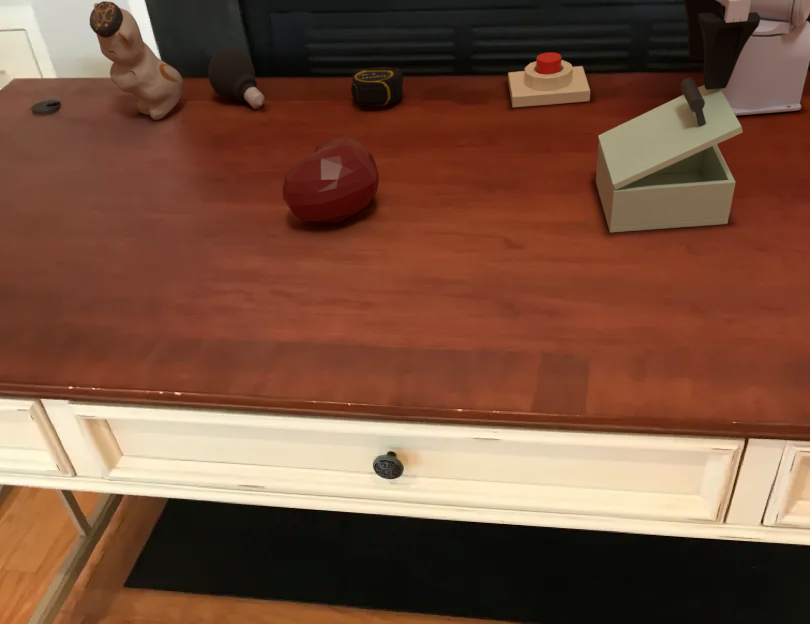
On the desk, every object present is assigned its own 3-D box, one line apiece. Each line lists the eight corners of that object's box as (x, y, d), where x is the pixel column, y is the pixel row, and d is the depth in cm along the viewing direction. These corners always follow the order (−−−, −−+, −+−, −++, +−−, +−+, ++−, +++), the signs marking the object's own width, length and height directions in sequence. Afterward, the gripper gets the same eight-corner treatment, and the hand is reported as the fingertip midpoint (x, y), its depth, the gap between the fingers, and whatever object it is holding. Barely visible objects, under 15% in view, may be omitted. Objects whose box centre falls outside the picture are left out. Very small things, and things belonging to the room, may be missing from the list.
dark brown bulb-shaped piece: (246, 86, 118) (202, 40, 121) (238, 129, 123) (195, 84, 126) (284, 79, 122) (240, 35, 125) (274, 122, 127) (232, 79, 130)
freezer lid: (716, 85, 94) (708, 51, 92) (743, 132, 87) (734, 97, 84) (599, 141, 99) (588, 110, 96) (615, 190, 91) (603, 158, 89)
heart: (408, 188, 103) (338, 186, 108) (393, 120, 98) (319, 121, 103) (358, 242, 97) (284, 238, 101) (338, 173, 91) (262, 172, 96)
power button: (559, 65, 118) (560, 51, 117) (562, 75, 116) (562, 60, 115) (535, 67, 119) (535, 53, 117) (537, 77, 117) (537, 62, 115)
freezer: (704, 173, 102) (711, 132, 98) (727, 224, 94) (735, 182, 91) (595, 181, 102) (598, 141, 99) (609, 232, 95) (613, 191, 91)
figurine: (112, 115, 127) (74, -4, 115) (180, 96, 129) (149, -22, 118) (129, 137, 121) (90, 15, 110) (199, 116, 124) (168, -5, 112)
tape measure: (404, 90, 124) (402, 61, 121) (401, 111, 119) (399, 82, 116) (355, 93, 124) (352, 64, 122) (351, 114, 120) (347, 85, 117)
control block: (582, 76, 122) (583, 53, 120) (589, 101, 116) (591, 77, 114) (508, 82, 122) (508, 59, 120) (512, 107, 117) (512, 84, 115)
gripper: (673, -96, 90) (656, 49, 100) (704, -51, 80) (682, 104, 90) (745, -103, 89) (721, 44, 99) (785, -59, 80) (754, 99, 90)
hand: (707, 72), depth 95 cm, fingers open, 7 cm apart
